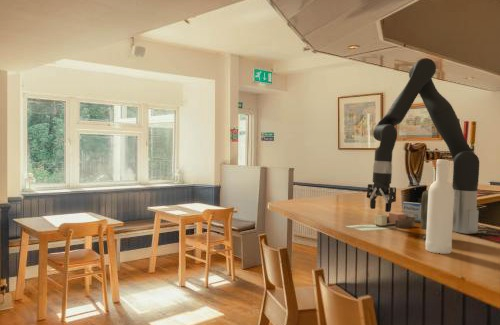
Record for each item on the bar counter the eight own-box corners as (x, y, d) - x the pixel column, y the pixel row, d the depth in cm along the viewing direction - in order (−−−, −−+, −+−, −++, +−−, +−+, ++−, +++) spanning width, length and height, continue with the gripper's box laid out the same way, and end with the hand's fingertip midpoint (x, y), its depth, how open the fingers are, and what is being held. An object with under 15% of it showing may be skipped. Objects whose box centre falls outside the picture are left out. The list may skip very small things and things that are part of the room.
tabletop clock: (427, 234, 166) (430, 170, 165) (452, 237, 161) (455, 172, 160) (419, 240, 154) (422, 172, 153) (446, 244, 149) (450, 173, 148)
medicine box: (401, 220, 197) (402, 202, 197) (403, 219, 201) (403, 201, 200) (419, 222, 193) (420, 203, 193) (420, 221, 197) (421, 202, 197)
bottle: (422, 251, 137) (427, 159, 136) (427, 246, 144) (432, 158, 143) (449, 255, 133) (454, 160, 132) (453, 250, 139) (458, 160, 138)
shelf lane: (416, 227, 181) (416, 217, 180) (363, 232, 166) (364, 220, 166) (396, 222, 190) (396, 213, 190) (344, 226, 176) (345, 216, 176)
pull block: (405, 225, 182) (406, 214, 182) (382, 227, 175) (382, 215, 175) (396, 223, 186) (397, 212, 186) (373, 225, 179) (373, 213, 179)
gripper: (402, 173, 173) (399, 212, 174) (376, 170, 186) (374, 207, 186) (388, 173, 170) (386, 213, 170) (363, 170, 182) (361, 207, 183)
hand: (380, 210), depth 178 cm, fingers open, 8 cm apart
